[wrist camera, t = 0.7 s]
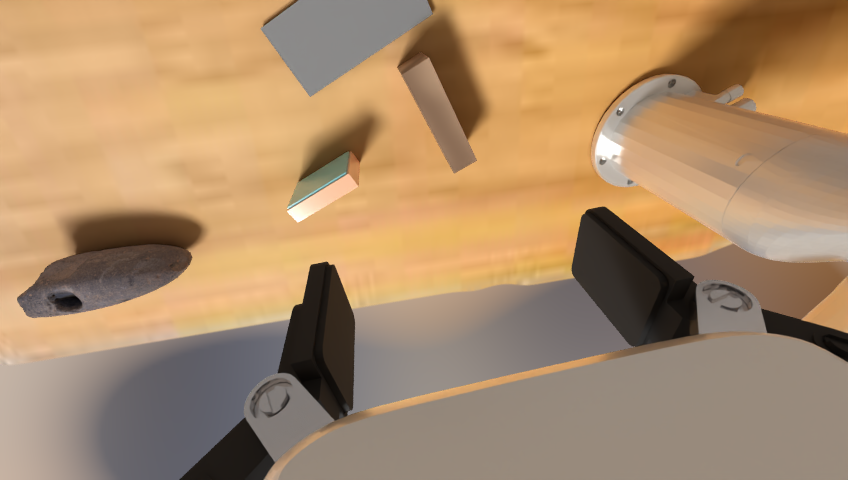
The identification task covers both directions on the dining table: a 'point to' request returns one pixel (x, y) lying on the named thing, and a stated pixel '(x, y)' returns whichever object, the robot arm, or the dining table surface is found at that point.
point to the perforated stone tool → (102, 279)
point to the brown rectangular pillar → (437, 111)
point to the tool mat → (338, 34)
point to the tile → (324, 186)
